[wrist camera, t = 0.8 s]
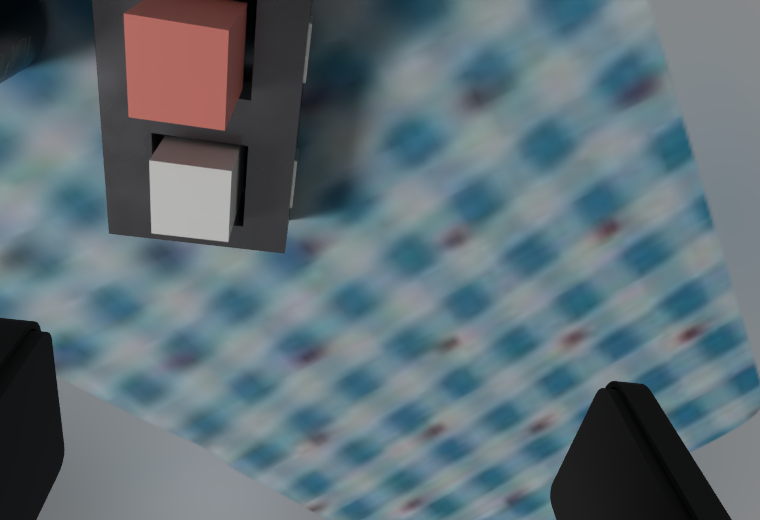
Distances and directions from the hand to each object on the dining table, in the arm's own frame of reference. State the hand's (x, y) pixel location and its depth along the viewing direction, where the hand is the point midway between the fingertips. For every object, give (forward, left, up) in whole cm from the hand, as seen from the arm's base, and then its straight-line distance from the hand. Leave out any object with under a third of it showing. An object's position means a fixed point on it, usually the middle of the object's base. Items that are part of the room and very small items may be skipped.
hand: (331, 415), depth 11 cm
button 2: (0, -6, -24) cm, 25 cm away
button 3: (+8, -6, -27) cm, 29 cm away
